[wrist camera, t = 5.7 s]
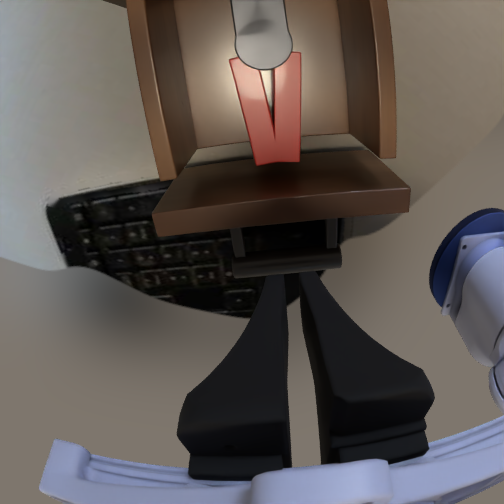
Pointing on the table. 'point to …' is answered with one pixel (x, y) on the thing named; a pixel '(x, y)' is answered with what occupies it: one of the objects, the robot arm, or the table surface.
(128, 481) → the robot arm
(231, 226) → the drawer
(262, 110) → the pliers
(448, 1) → the table surface
